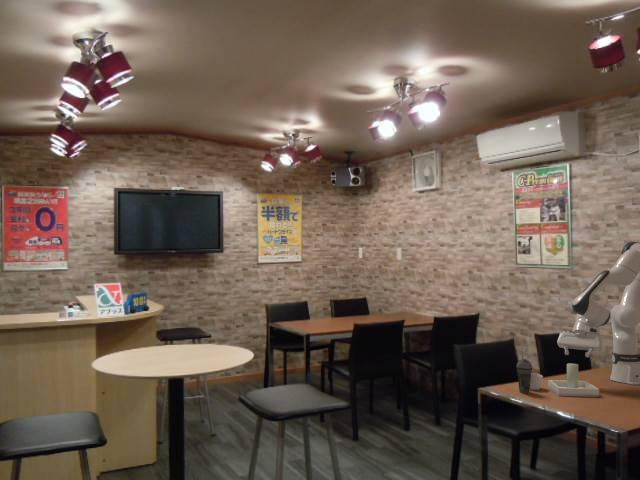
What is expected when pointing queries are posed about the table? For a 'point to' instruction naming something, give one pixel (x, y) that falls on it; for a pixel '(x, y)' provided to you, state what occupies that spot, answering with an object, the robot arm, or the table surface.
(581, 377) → the table surface
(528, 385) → the beverage cup
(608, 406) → the table surface
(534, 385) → the candle
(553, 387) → the tray
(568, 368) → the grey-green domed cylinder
